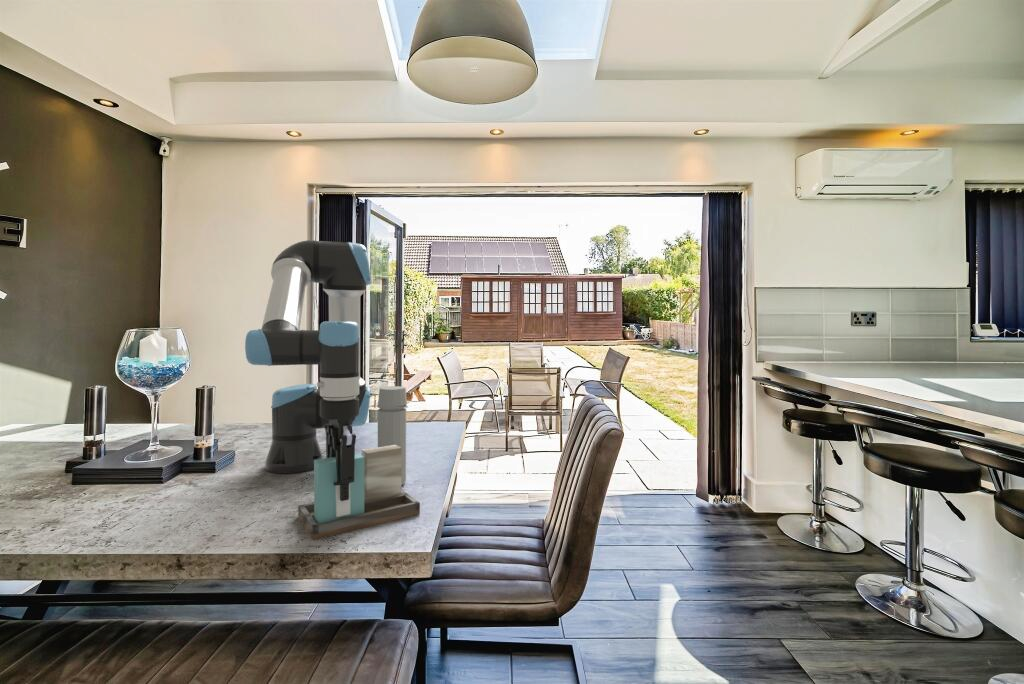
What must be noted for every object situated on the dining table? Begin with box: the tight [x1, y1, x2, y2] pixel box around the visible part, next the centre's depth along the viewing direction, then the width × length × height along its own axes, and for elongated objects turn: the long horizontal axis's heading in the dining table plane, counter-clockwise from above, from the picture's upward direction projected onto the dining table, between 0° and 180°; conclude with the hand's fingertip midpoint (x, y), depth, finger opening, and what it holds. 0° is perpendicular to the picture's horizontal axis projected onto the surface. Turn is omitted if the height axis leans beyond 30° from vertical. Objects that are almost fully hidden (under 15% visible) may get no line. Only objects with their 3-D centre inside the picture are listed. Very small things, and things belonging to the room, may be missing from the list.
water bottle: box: [376, 385, 409, 486], centre depth 122 cm, size 9×8×25 cm
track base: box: [297, 445, 421, 541], centre depth 101 cm, size 13×22×13 cm, turn 126°
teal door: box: [313, 452, 364, 524], centre depth 96 cm, size 4×9×12 cm, turn 126°
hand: (339, 511), depth 96 cm, fingers closed on teal door, 3 cm apart
